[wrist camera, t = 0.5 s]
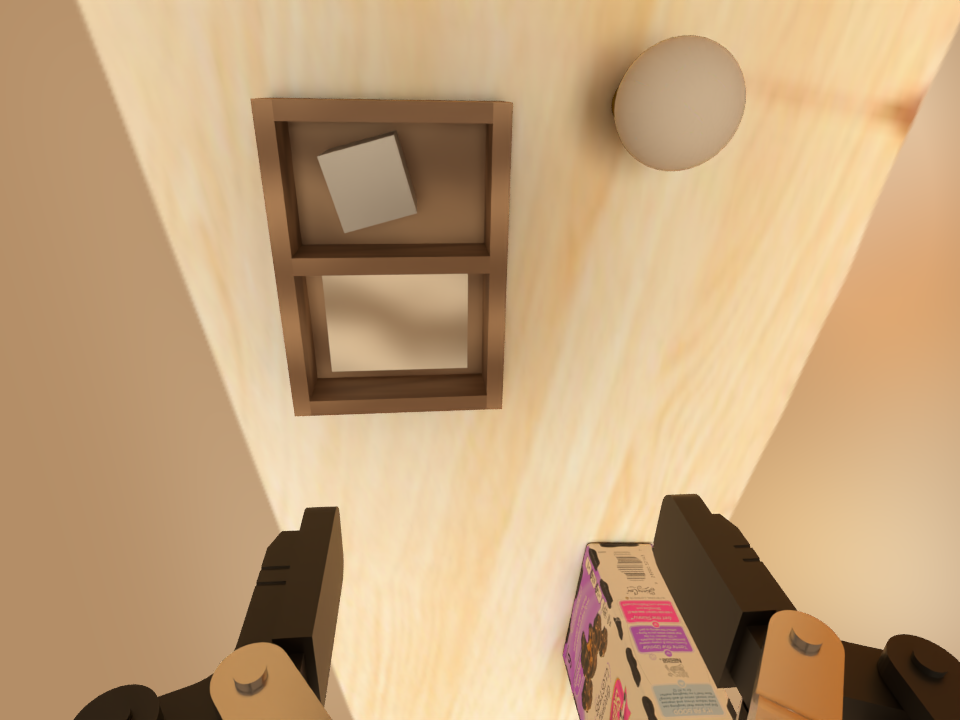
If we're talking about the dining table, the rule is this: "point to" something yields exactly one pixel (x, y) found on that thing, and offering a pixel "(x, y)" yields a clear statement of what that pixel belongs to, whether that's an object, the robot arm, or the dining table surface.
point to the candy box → (634, 644)
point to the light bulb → (679, 103)
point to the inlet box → (391, 257)
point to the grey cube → (369, 181)
